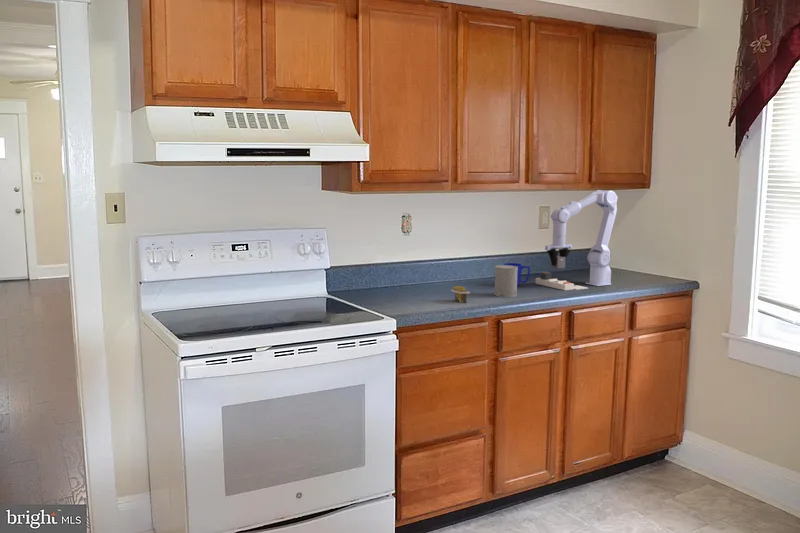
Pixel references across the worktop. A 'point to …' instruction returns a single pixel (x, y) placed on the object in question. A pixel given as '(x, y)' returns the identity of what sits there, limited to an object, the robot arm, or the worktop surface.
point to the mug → (519, 271)
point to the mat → (579, 287)
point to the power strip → (553, 282)
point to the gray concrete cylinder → (506, 280)
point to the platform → (460, 293)
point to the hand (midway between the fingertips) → (558, 265)
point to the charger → (559, 262)
